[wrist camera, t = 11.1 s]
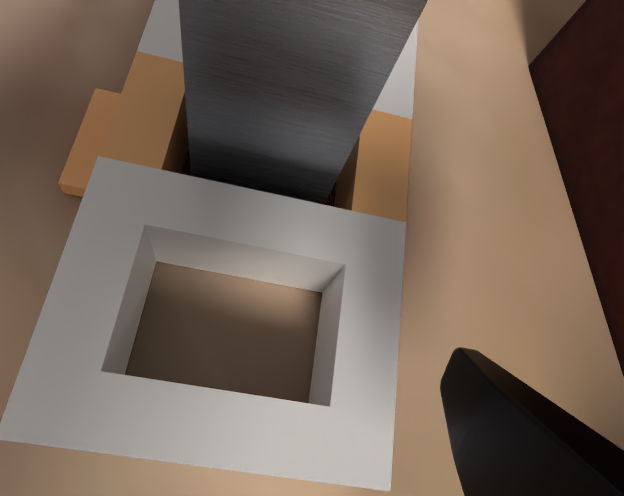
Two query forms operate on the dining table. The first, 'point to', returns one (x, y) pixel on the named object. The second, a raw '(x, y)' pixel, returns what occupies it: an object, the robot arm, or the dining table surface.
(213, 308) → the dining table surface
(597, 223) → the storage box
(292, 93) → the graphite panel
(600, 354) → the dining table surface
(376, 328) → the frame
